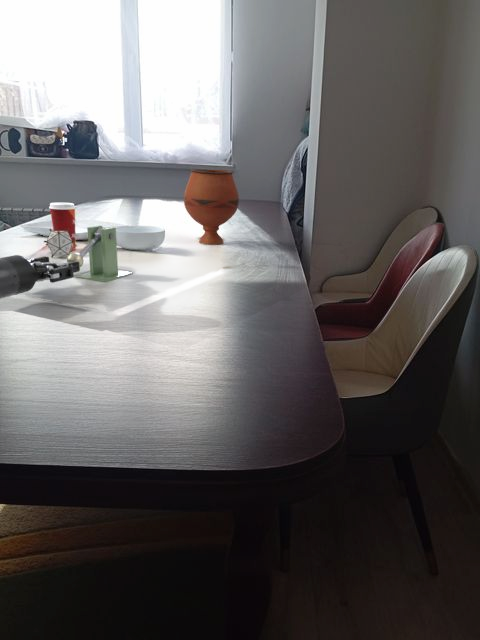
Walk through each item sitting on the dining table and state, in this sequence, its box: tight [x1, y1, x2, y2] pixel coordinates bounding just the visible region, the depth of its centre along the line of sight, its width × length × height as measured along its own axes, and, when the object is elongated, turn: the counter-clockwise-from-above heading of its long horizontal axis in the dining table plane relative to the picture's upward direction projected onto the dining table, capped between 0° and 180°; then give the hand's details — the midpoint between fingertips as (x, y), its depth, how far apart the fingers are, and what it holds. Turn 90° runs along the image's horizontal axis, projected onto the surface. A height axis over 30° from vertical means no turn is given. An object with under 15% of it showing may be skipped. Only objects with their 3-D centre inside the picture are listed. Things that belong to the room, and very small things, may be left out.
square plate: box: [19, 218, 131, 241], centre depth 186 cm, size 27×27×4 cm
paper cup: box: [48, 201, 77, 252], centre depth 158 cm, size 8×8×14 cm
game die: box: [43, 228, 77, 258], centre depth 149 cm, size 9×8×10 cm
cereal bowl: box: [115, 225, 166, 253], centre depth 164 cm, size 17×17×7 cm
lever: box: [66, 227, 104, 268], centre depth 121 cm, size 14×4×4 cm, turn 158°
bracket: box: [74, 225, 133, 283], centre depth 126 cm, size 11×9×13 cm
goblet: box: [183, 168, 240, 246], centre depth 182 cm, size 19×19×25 cm
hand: (63, 263), depth 114 cm, fingers open, 8 cm apart
